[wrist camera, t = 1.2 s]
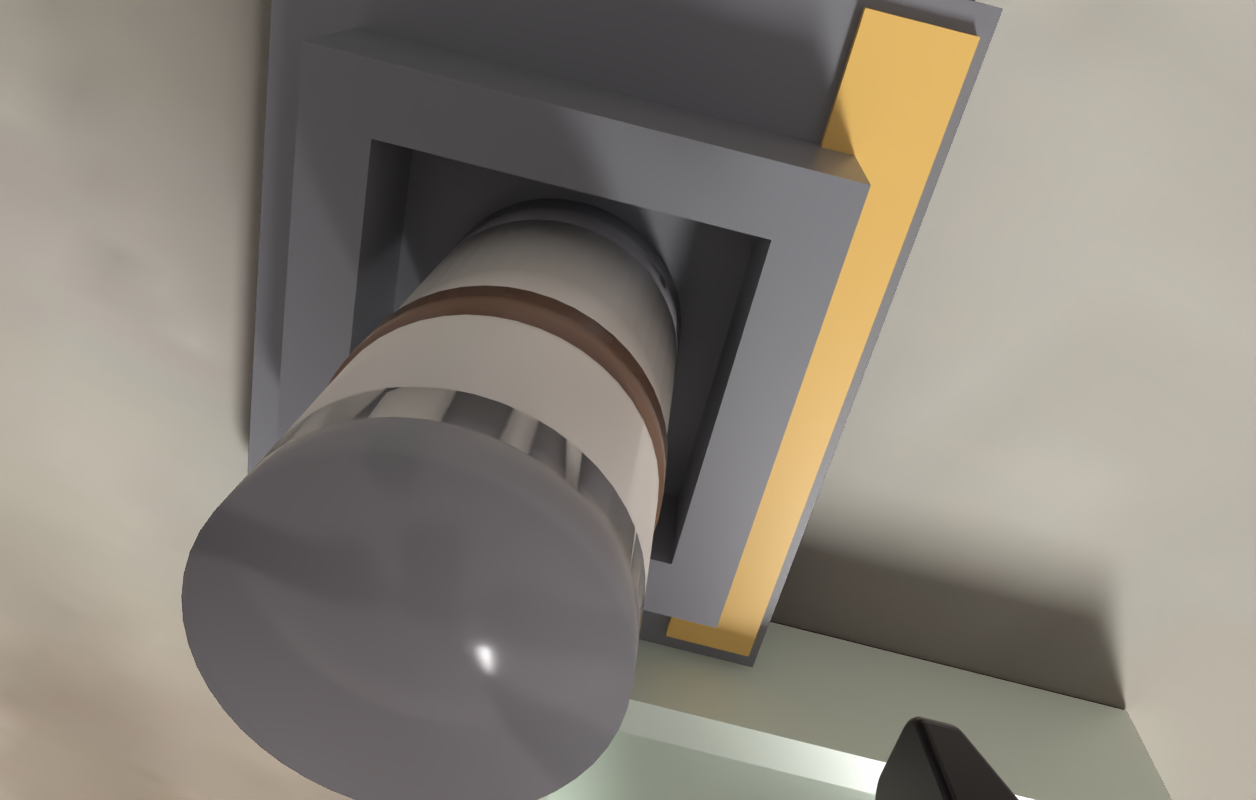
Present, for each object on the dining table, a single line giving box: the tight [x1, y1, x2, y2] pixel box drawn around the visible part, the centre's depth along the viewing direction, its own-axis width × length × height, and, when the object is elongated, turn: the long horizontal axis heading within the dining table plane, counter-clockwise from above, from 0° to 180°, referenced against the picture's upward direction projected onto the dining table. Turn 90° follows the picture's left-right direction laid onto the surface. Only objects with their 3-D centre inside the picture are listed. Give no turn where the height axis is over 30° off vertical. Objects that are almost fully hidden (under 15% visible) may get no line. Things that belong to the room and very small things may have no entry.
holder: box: [248, 0, 1003, 667], centre depth 15 cm, size 12×10×4 cm
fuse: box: [182, 199, 681, 800], centre depth 12 cm, size 4×4×8 cm
